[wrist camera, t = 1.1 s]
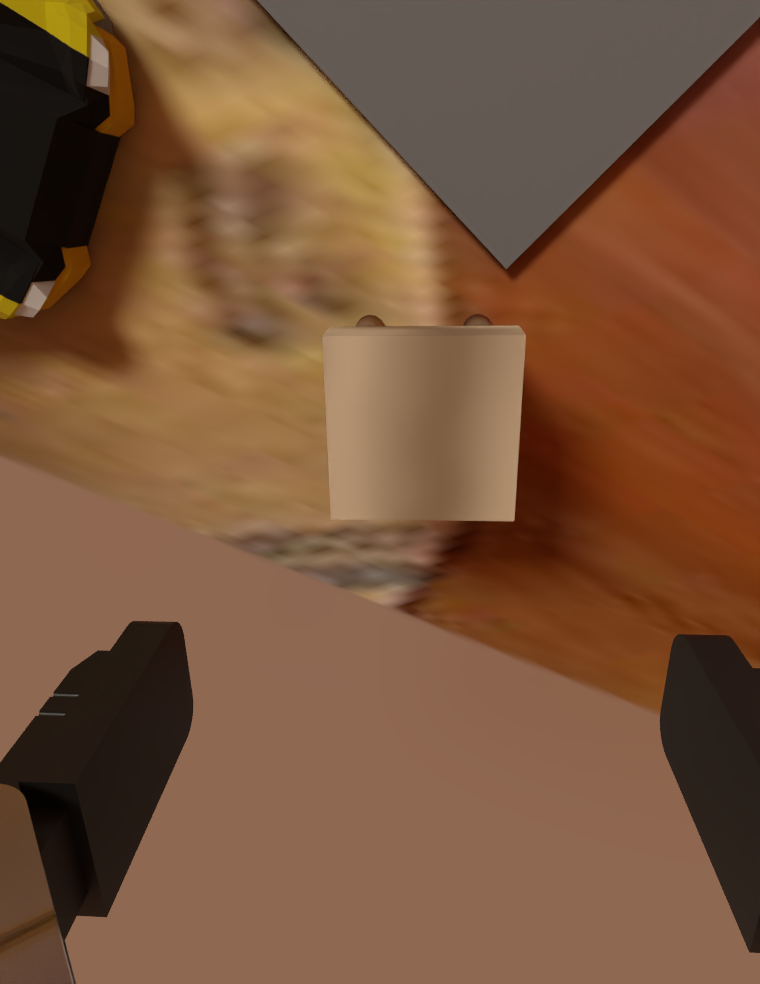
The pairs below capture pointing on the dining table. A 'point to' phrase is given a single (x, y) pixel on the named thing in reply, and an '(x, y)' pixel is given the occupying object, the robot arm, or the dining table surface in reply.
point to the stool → (423, 420)
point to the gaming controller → (55, 142)
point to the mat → (512, 89)
